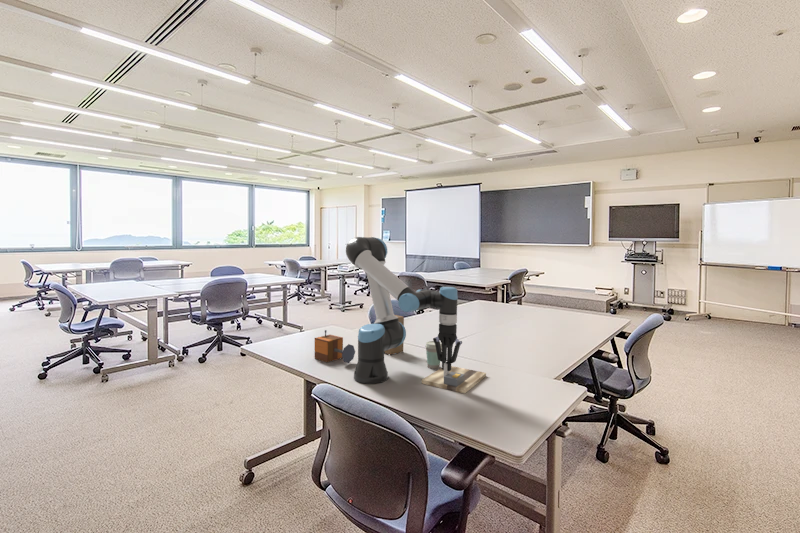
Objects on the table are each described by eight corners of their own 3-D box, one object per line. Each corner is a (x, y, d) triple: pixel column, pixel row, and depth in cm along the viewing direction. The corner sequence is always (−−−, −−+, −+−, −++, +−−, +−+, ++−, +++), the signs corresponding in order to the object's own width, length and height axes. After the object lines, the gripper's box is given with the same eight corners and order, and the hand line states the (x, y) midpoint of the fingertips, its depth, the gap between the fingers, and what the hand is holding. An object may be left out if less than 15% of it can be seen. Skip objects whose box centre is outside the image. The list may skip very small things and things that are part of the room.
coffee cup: (445, 367, 190) (446, 343, 190) (435, 371, 184) (435, 346, 183) (432, 363, 196) (432, 339, 195) (421, 367, 190) (421, 342, 189)
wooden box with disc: (340, 366, 189) (340, 337, 188) (314, 358, 201) (314, 331, 200) (356, 361, 197) (356, 334, 196) (330, 354, 209) (330, 328, 209)
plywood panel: (421, 383, 167) (421, 379, 167) (446, 368, 189) (446, 364, 189) (464, 393, 157) (464, 389, 157) (486, 376, 178) (486, 372, 178)
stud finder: (443, 383, 163) (443, 375, 163) (451, 378, 170) (451, 370, 170) (456, 386, 160) (457, 378, 160) (464, 381, 167) (464, 373, 166)
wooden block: (391, 348, 223) (392, 313, 222) (403, 352, 216) (404, 316, 214) (378, 351, 216) (378, 315, 215) (390, 355, 209) (390, 318, 208)
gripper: (430, 322, 165) (428, 377, 167) (458, 326, 159) (456, 383, 160) (438, 320, 172) (436, 372, 173) (465, 323, 165) (463, 378, 166)
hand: (446, 377), depth 167 cm, fingers closed
